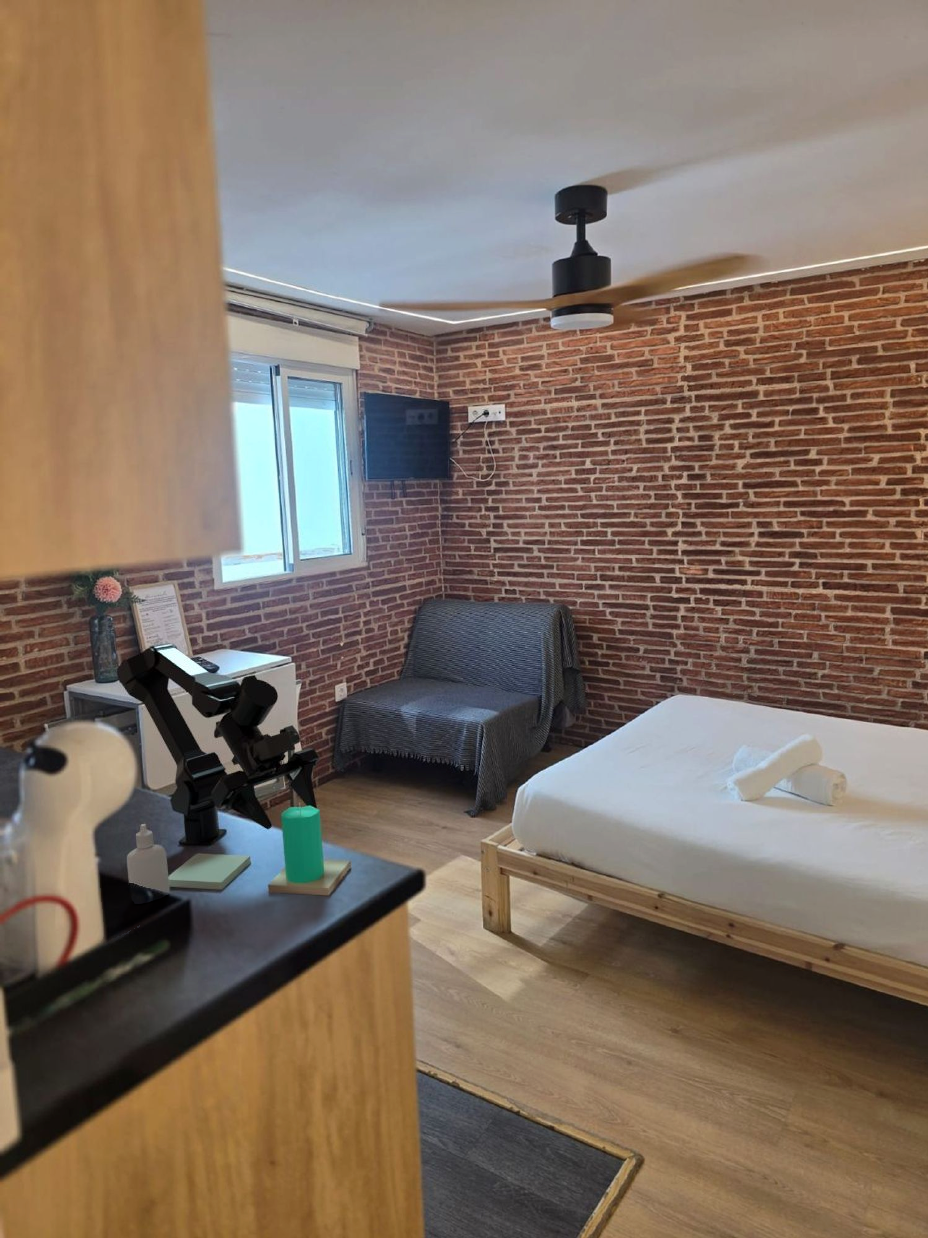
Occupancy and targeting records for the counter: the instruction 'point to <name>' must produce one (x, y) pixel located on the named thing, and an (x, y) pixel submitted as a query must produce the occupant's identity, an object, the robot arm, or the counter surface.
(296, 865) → the candle
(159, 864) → the eye dropper bottle
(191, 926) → the counter surface
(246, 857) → the sage tile
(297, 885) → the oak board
